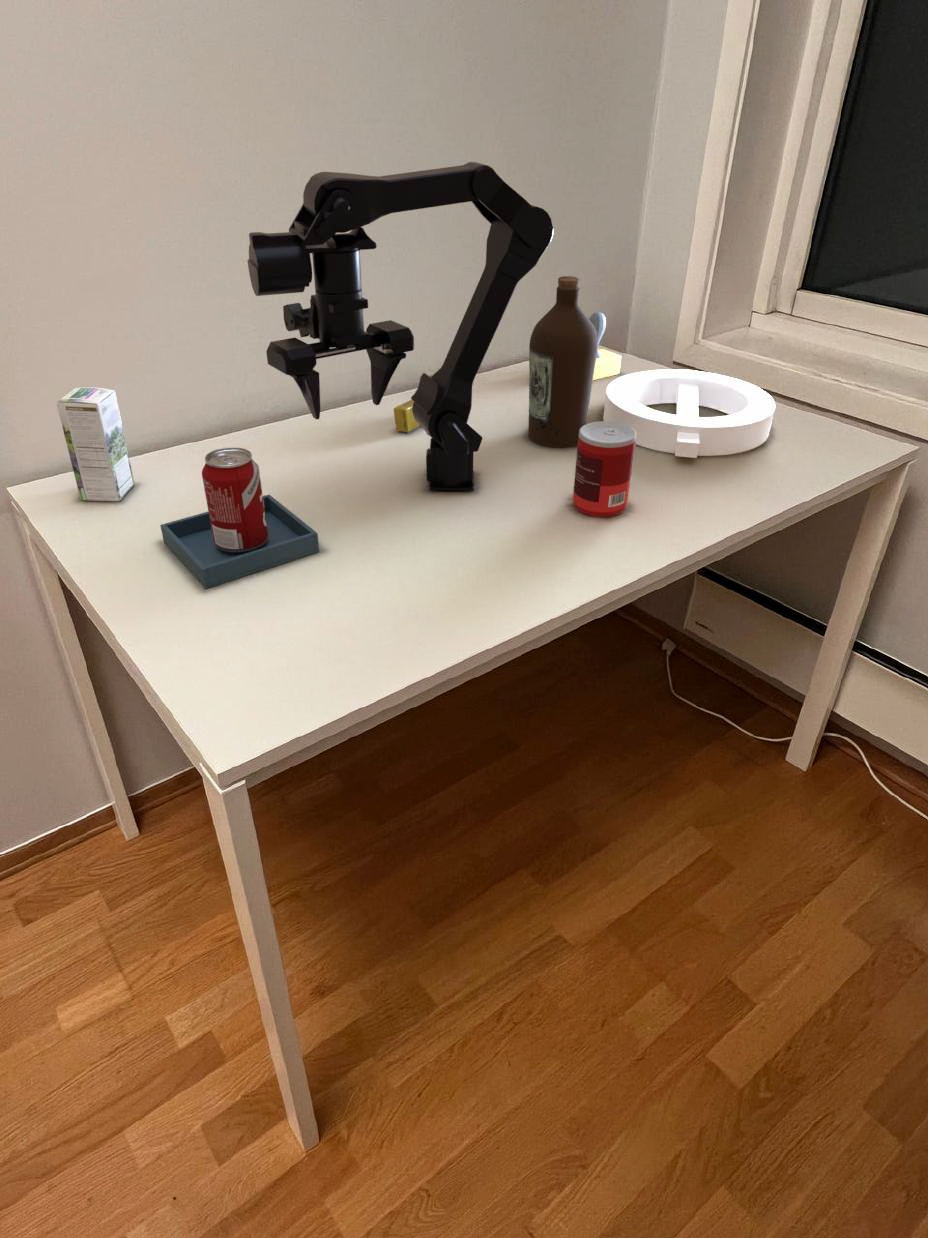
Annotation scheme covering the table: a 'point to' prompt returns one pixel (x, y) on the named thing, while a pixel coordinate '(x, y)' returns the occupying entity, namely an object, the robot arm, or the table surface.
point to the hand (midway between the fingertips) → (346, 411)
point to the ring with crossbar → (690, 412)
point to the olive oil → (561, 370)
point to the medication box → (405, 417)
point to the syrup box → (96, 443)
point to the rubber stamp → (604, 351)
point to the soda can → (234, 500)
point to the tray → (219, 566)
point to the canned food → (603, 468)
